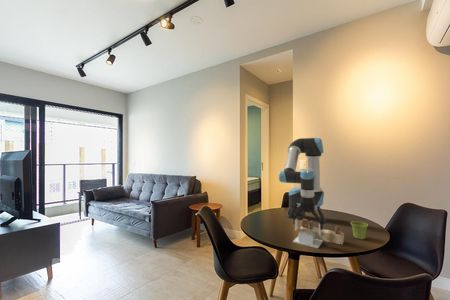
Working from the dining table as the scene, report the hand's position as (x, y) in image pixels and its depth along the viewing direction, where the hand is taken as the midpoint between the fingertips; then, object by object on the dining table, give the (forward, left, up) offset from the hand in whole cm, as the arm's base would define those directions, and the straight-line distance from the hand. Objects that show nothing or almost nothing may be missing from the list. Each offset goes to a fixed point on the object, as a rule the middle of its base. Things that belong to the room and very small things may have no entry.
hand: (307, 232), depth 129 cm
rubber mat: (0, 0, -6) cm, 6 cm away
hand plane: (+5, +10, -6) cm, 13 cm away
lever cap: (0, 0, -5) cm, 5 cm away
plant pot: (+24, +25, -6) cm, 35 cm away
